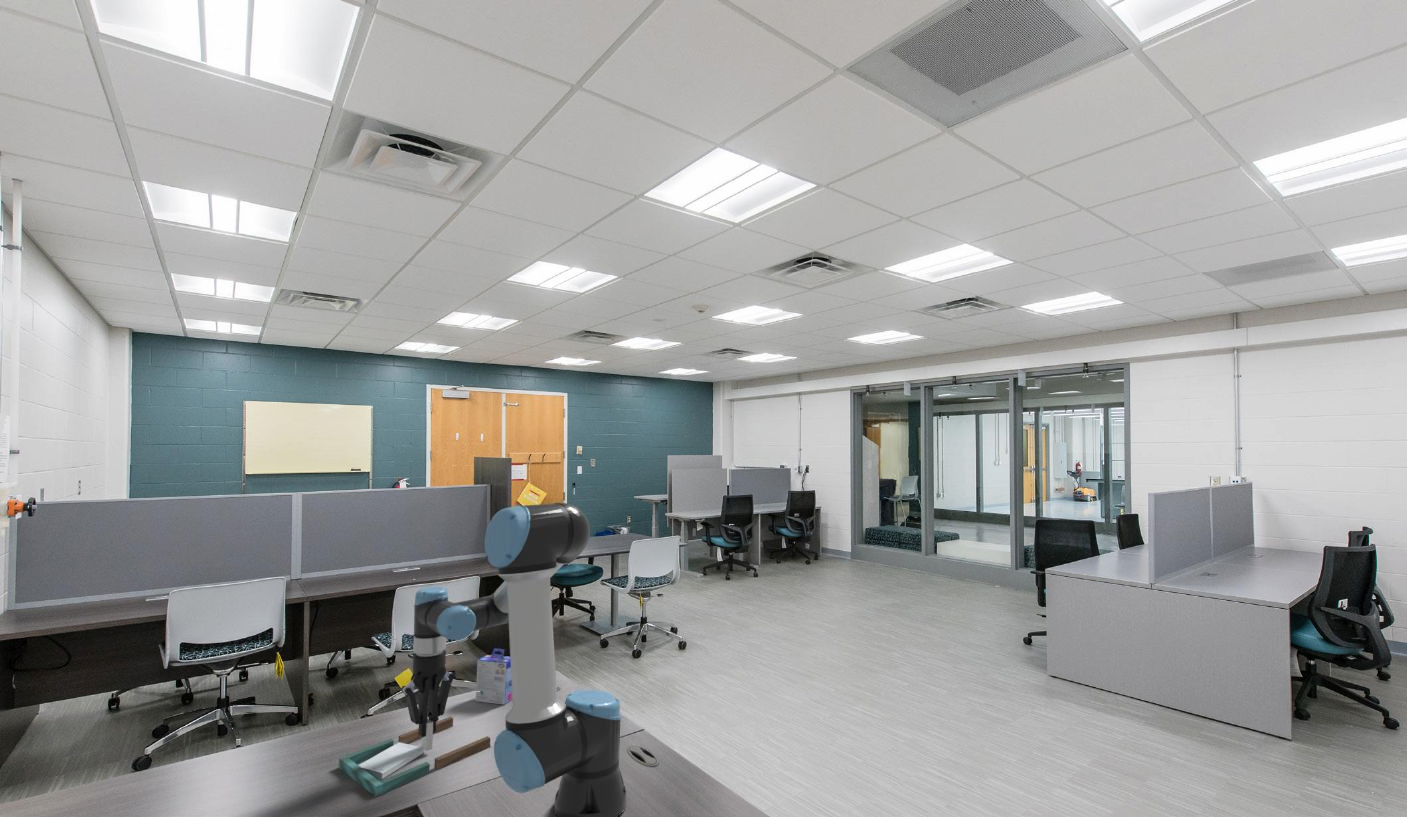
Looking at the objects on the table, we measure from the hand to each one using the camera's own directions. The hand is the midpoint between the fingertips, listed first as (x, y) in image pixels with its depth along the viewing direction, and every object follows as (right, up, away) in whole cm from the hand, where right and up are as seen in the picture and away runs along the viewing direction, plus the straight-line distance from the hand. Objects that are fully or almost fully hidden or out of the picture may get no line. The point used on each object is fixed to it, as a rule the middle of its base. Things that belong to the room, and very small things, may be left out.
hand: (426, 748), depth 151 cm
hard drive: (-6, -1, -5) cm, 8 cm away
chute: (-2, -1, -2) cm, 3 cm away
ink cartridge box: (+6, -3, +31) cm, 32 cm away
